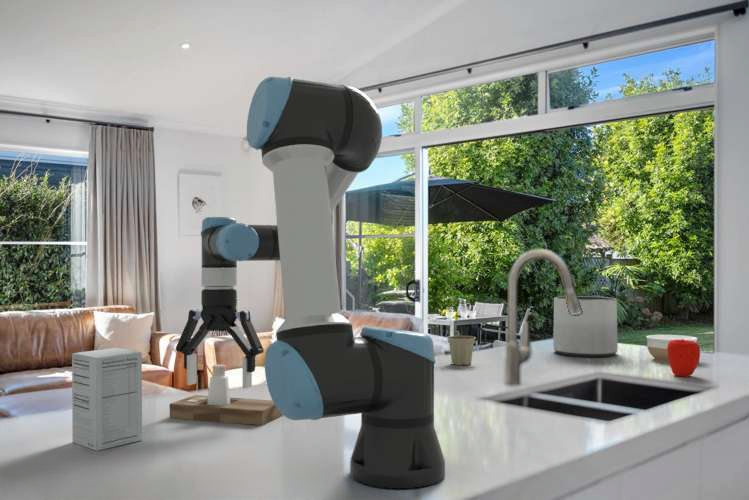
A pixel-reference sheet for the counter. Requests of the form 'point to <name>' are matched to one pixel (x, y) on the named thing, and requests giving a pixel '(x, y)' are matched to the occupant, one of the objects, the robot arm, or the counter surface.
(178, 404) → the brown flat tray
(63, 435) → the counter surface
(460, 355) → the flower pot
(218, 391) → the pepper shaker
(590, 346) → the planter
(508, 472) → the counter surface
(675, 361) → the apple
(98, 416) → the supplement box
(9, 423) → the counter surface
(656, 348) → the bowl
